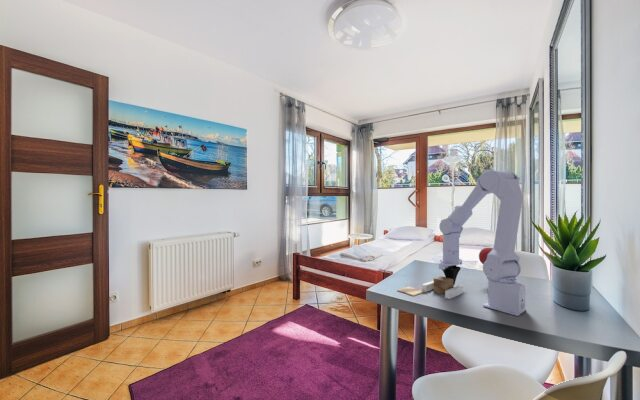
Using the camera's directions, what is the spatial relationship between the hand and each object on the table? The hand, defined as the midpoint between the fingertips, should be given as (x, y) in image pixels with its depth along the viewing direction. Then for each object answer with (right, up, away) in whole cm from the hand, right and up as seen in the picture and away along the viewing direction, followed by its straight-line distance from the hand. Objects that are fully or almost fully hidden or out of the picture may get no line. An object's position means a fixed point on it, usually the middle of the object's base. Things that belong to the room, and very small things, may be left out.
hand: (450, 285), depth 104 cm
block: (-4, -2, -3) cm, 6 cm away
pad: (-17, -1, -3) cm, 17 cm away
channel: (-5, -1, -4) cm, 7 cm away
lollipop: (+19, -2, +6) cm, 20 cm away
